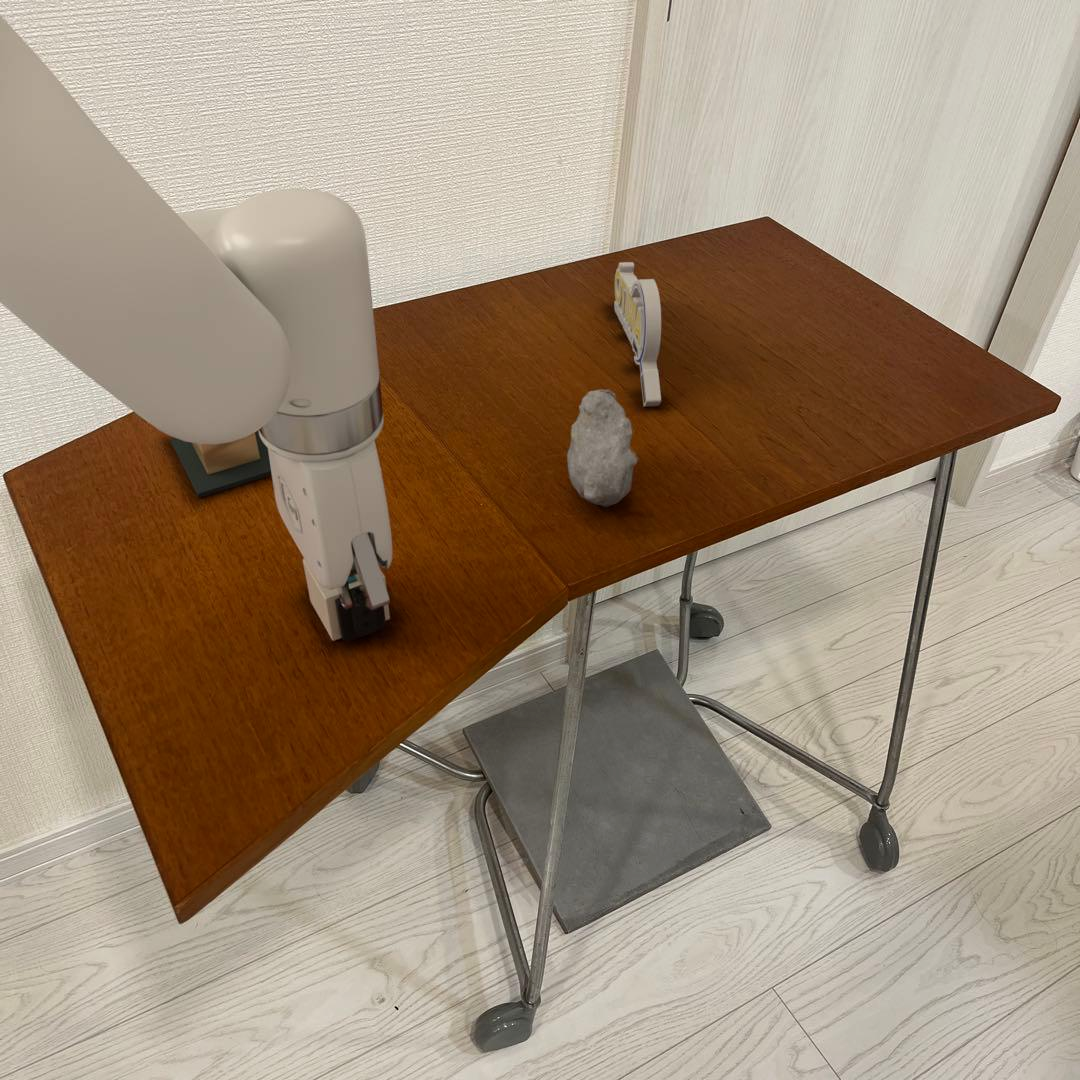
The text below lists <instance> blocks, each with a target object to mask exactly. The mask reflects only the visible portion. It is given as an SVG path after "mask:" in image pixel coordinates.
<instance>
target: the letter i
mask: <svg viewBox="0 0 1080 1080" xmlns="http://www.w3.org/2000/svg"><path fill="white" fill-rule="evenodd" d="M302 565H303V569H304V575H305V579H306V580H305V581H306V584H307V589H308V596H309V601H310V603H311V606H313V609H314V610H315V612H316V614H317V616H318V617H319V619H320V621H321V623H322V625H323V626H324V629H325V630H326V632H327V633H328V635H329V637H330V639H331V641H332V642H334V641H335V642H336V641H337V640H340V639H343V638H342V637H341V633H340V627H339V621H338V615H337V609H336V603H335V600H337V599H339V598H340V597H339V593H338V589H337V588H335V589H333V590H330V589H327V588H325V587H324V586H322V585H321V584H320V583H319V582H318V580H317V579H316V577H315V576H314V574H313V572H312V571H311V569H310V567H309V566H308V564H307V562H306V560H305V559H304V558H303V559H302ZM380 571H381V574H382V577H383V580H384V583H385V586H386V587H387V582H386V580H387V579H386V576H385V574H384V573H383V571H382V570H381V569H380ZM347 580H348V584H349V589H351V588H354V587H356V586H359V585H361V583H360V580H359V577H358V574H357V575H354V576H351V577H348V579H347ZM384 612H385V621H386V622H387V621H389V620H390V619H391V617H390V615H391V614H390V608H389V604H387V605H384Z"/></svg>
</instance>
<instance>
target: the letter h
mask: <svg viewBox="0 0 1080 1080" xmlns="http://www.w3.org/2000/svg"><path fill="white" fill-rule="evenodd" d="M192 444H193V446H194V448H195V450H196V452H197V454H198V456H199V458H200V460H201V462H202V464H203V466H204V467H205V469H206V471H207V473H208V475H210V474H213V473H216V472H219V471H223V470H226V469H229V468H232V467H236V466H239V465H242V464H245V463H248V462H252V461H255V460H258V459H260V455H259V450H258V446H257V441H256V436H255V432H254V433H252V434H250V435H248V436H247V437H245V438H242V439H239V440H236V441H233V442H229V443H222V444H196V443H192Z"/></svg>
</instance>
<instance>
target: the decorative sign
mask: <svg viewBox="0 0 1080 1080" xmlns="http://www.w3.org/2000/svg"><path fill="white" fill-rule="evenodd" d="M634 270H635V263H634V262H633V261H632V262H631V261H624V262H619V263H618V266H617V268H616V270H615V275H614V298H615V300H614V302H613V303H614V307H613V308H614V312H615V314H616V317H617V318H618V320H619V322H620V324H621V326H622V329H623V331H624V332H625V335H626V336H627V338H628V339H627V340H628V341H629V343H630V345H631V348H632V352H634V354H635V355H634V356H633V360H634V362H635V364H636V365H638V366H639V372H640V386H641V396H642V404H643V407H645V408H646V407H647V408H648V407H659V406H660V405H661V403H662V393H661V386H660V376H659V369H658V365H657V363H658V362H657V360H658V358H659V353H660V349H661V348H660V347H661V341H662V340H661V339H662V305H661V298H660V292H659V288H658V285H657V282H656V280H655V278H648V279H638V278H637V276H636V275H635V274H634V273H635V272H634Z"/></svg>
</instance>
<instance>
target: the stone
mask: <svg viewBox="0 0 1080 1080" xmlns="http://www.w3.org/2000/svg"><path fill="white" fill-rule="evenodd" d="M578 409H579V414H578V416H577V418H576V421H575V422H574V423H573V424H572V425H571V429H570V443H569V444H570V445H569V448H568V450H567V453H566V460H567V471H568V476H569V479H570V480H569V481H570V483H571V485H572V486H573V488H574V489H575V490H576V491H577V493H578V494H579V497H581V498H582V499H585V500H586V501H588V502H590V503H593V504H594V505H596V506H601V507H605V508H607V507H610V506H613V505H616V504H618V503H619V502H620V501H621V500H622V499H624V497H626V496H627V495H628V494H629V493H630V491H631V488H632V483H633V473H634V467H635V466H636V464H637V463H638V460H639V458H638V456H637V455H636V453H635V452H634V451H632V448H631V440H632V437H633V428H632V422H631V420H630V418H627V417H626V412H625V409H624V408H623V406H622V405H620V403H619V402H618V401H617V395H616V393H615V392H613V391H612V390H610V389H597V390H590V391H588V392H587V393H586V394H585V395H584V396H583V397H582V399H581V403H580V405H578Z"/></svg>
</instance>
